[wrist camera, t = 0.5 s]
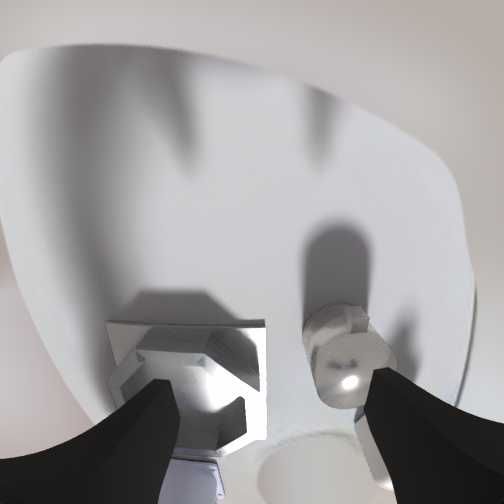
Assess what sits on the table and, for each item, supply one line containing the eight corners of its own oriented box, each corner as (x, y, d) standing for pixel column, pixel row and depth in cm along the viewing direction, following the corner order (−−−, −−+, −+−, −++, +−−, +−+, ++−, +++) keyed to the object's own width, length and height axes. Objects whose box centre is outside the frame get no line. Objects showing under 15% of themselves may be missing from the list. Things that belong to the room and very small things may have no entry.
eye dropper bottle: (367, 442, 21) (399, 530, 10) (349, 419, 20) (385, 524, 9) (403, 421, 21) (447, 504, 9) (390, 395, 20) (444, 492, 8)
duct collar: (265, 435, 21) (266, 460, 18) (141, 426, 21) (132, 447, 18) (265, 325, 18) (266, 348, 15) (107, 320, 18) (88, 338, 16)
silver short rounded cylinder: (360, 356, 19) (386, 401, 13) (300, 363, 19) (312, 413, 14) (370, 288, 18) (407, 322, 12) (304, 292, 18) (322, 331, 12)
